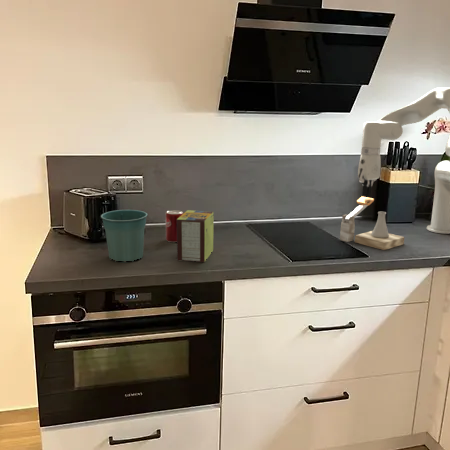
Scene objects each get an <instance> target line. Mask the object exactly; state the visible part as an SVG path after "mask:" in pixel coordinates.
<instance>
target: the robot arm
mask: <svg viewBox="0 0 450 450" xmlns="http://www.w3.org/2000/svg"><path fill="white" fill-rule="evenodd" d="M441 109H446V110H447V111H448V113H449V114H450V87H435V88H433V89H431V90H430V91H428V92H427V93H425V94H424V95H423V96H421V97H419V98H418V99H416V100H415V101H413V102H411V103H410V104H408V105H404V106H402V107H401V108H398V109H395V110H394V111H391V112H389V113H387V114H385V115H384V116H382V117H381V118H380V119H378V120H377V121H370V120H369V121H366V122H364V123H363V129H362V139H361V150H360V158H359V163H358V167H357V168H358V170H357V178H358V179H359V180H358V182H359V183H361V184H362V195H363V196H364V197H366V196H367V197H369V196H372V189H373V184H374V182H375V181H377V179H380V177H381V169H382V168H381V167H382V164H381V163H382V162H381V161H382V160H381V147H382V140H388V141H395V140H398V139H399V138H401V137H402V134H403V133H404V130H403V127H402V126H405V125H406V126H407V125H410V124H417V123H419V122H422V121H424V120H425V119H427V118H428V117H430V116H431V115H433V114H434V113H436V112H437V111H439V110H441ZM445 154H446V156H447V157H449V158H450V134H449V135H448V139H447V142H446V145H445ZM434 168H435V169H434V195H433V201H432V202H433V205H432V211H431V220H430V224H429V225H427V226H426V230H427V231H429V232H431V233H436V234H443V235H445V234H447V235H448V234H449V235H450V160H441V161H439V162H438V163H437V164H436V165H435V167H434ZM362 195H361V196H362Z"/></svg>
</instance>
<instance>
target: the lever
mask: <svg viewBox="0 0 450 450" xmlns="http://www.w3.org/2000/svg"><path fill="white" fill-rule="evenodd" d="M374 201H375V198H372V197H369V196H367V197H366V196H361V197H359V198H358V199H357V200H356V204H359V205H358V206H356V207H355V208H354V210H353V211H350V213H349V214H347V215H348V216H347V217H346V218H345V221H346V222H349V217H350V216H355V217H357V216H358V215H359V214H361V212H362V211H364V210H365V209H366V208H367V207H368V206H370V205H371V204H372V203H374Z"/></svg>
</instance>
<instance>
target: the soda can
mask: <svg viewBox="0 0 450 450" xmlns="http://www.w3.org/2000/svg"><path fill="white" fill-rule="evenodd" d="M164 214H165V240H167V241H169V242H168V243H170V242H177V219H178V218H179V217H180V216H181V215H182V214H184V212H183V211H181V210H177V209H175V210H167V211H165V213H164ZM167 241H166V242H167Z"/></svg>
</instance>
